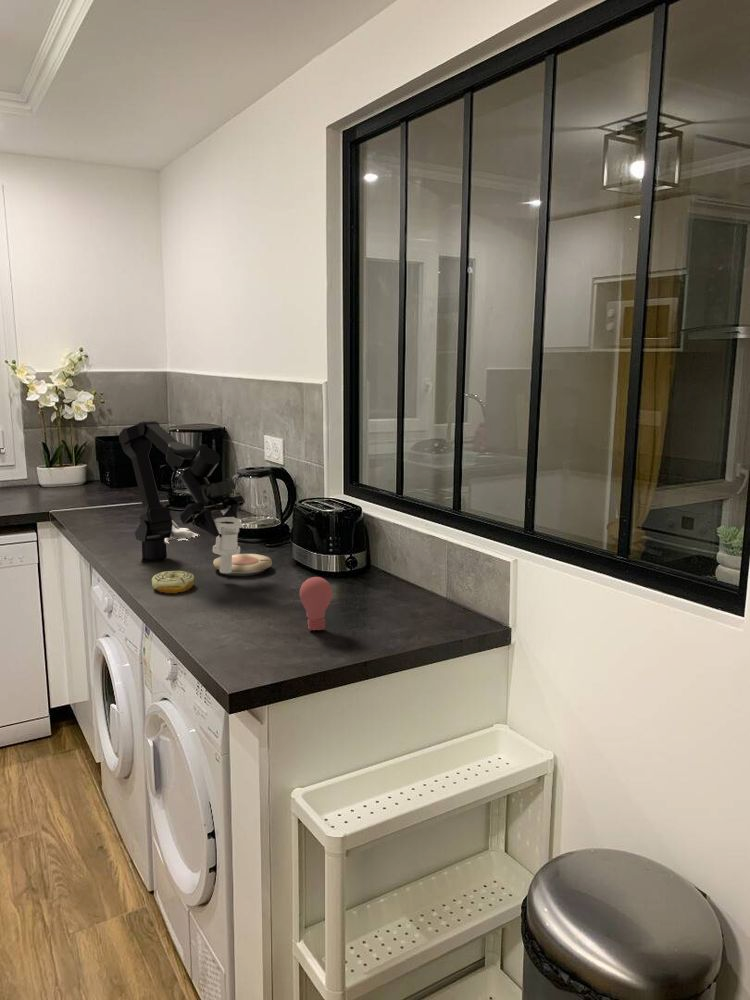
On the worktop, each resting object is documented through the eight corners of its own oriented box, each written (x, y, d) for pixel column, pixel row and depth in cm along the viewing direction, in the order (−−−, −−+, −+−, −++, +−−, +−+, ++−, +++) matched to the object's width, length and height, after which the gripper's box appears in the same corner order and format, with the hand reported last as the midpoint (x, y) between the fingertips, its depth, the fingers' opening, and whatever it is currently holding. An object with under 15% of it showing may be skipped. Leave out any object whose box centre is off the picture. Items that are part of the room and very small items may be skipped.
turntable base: (221, 576, 202) (220, 571, 202) (220, 564, 214) (220, 559, 213) (265, 575, 205) (265, 569, 204) (263, 563, 216) (263, 558, 216)
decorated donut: (147, 595, 186) (147, 580, 185) (157, 582, 196) (156, 568, 196) (190, 595, 186) (189, 580, 186) (197, 582, 197) (197, 568, 196)
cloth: (144, 547, 233) (144, 528, 232) (133, 534, 249) (132, 516, 248) (215, 541, 243) (214, 522, 242) (199, 529, 260) (199, 512, 258)
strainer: (226, 577, 192) (229, 521, 189) (206, 571, 195) (208, 515, 192) (244, 571, 198) (247, 516, 195) (224, 565, 201) (226, 511, 198)
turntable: (213, 573, 200) (213, 569, 199) (213, 557, 215) (213, 554, 215) (273, 571, 203) (273, 567, 203) (269, 556, 218) (269, 552, 218)
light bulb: (299, 624, 167) (299, 572, 165) (331, 624, 168) (332, 573, 166) (298, 636, 160) (299, 582, 158) (332, 636, 161) (333, 582, 159)
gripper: (187, 472, 186) (219, 523, 182) (240, 465, 201) (270, 511, 198) (166, 499, 192) (196, 548, 188) (219, 490, 207) (248, 535, 203)
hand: (229, 535), depth 194 cm, fingers closed on strainer, 6 cm apart
